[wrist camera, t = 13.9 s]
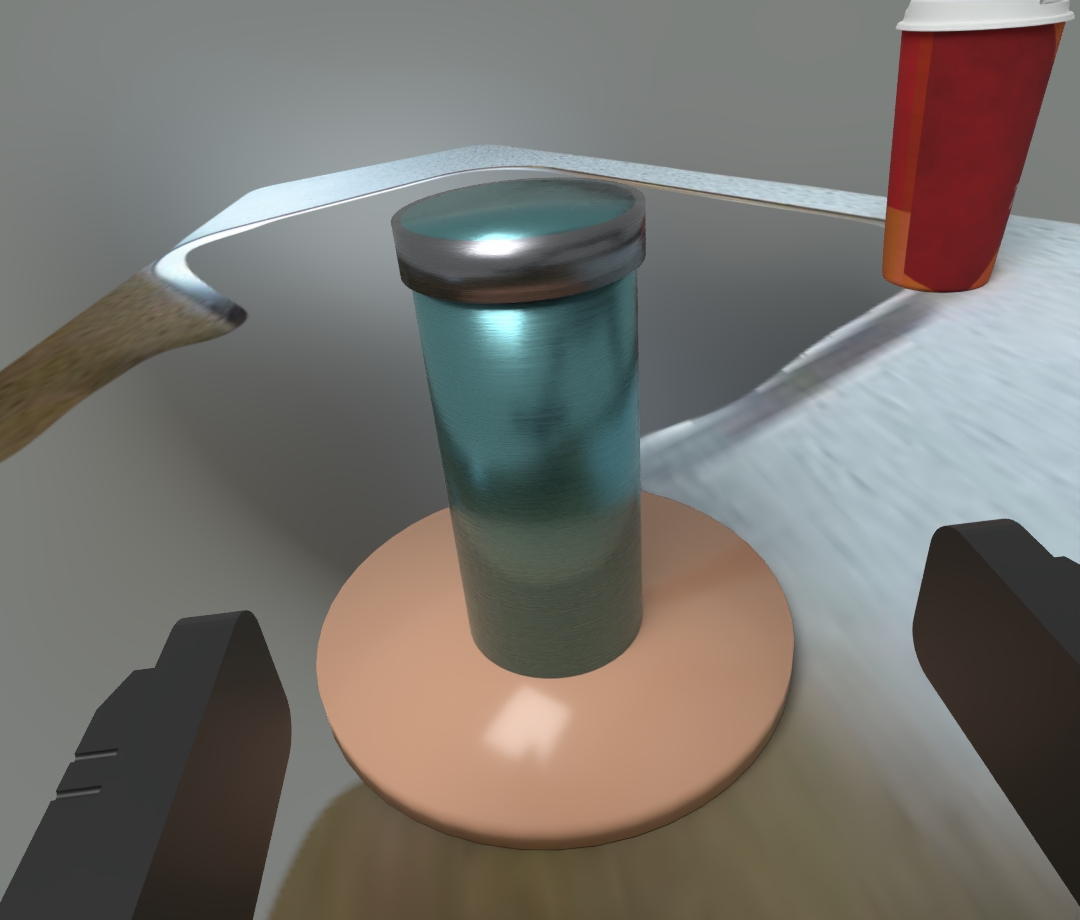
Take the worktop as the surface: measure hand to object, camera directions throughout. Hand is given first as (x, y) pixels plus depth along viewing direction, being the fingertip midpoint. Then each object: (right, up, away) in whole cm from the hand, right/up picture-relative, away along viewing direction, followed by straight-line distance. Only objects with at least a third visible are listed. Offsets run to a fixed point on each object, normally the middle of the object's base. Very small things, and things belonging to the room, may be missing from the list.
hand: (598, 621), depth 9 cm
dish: (0, -3, +15) cm, 15 cm away
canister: (0, -3, +14) cm, 14 cm away
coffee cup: (+23, +13, +39) cm, 47 cm away
